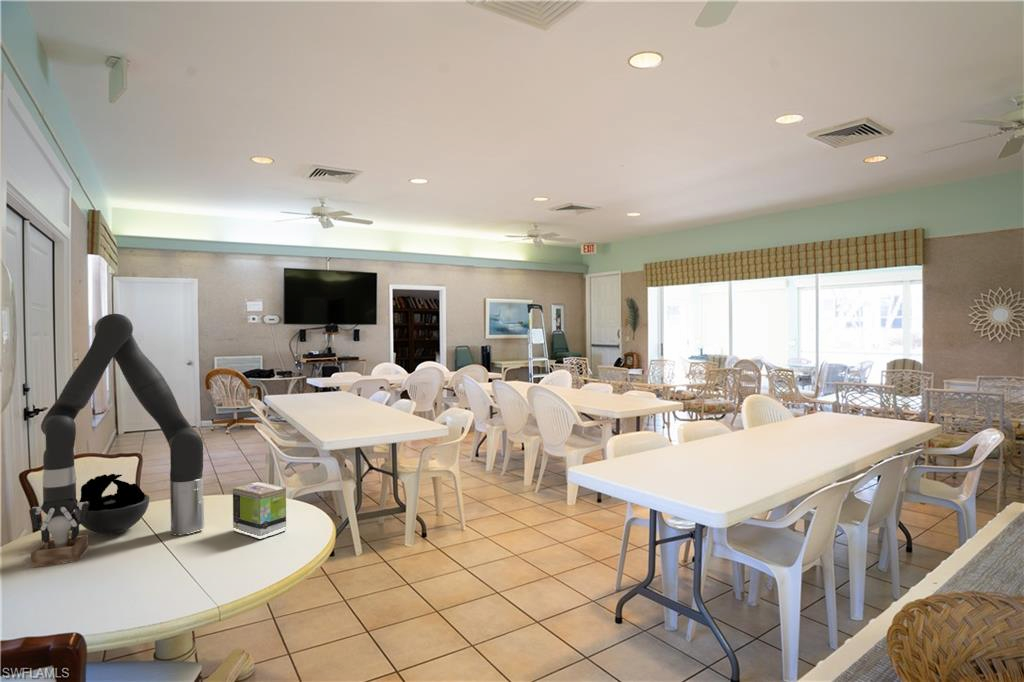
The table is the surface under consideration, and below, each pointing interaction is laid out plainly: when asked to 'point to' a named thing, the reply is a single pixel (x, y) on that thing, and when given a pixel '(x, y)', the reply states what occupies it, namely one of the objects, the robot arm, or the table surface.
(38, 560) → the wooden tray
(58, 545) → the lightbulb
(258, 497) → the tea box
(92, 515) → the coal bowl
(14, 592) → the table surface
